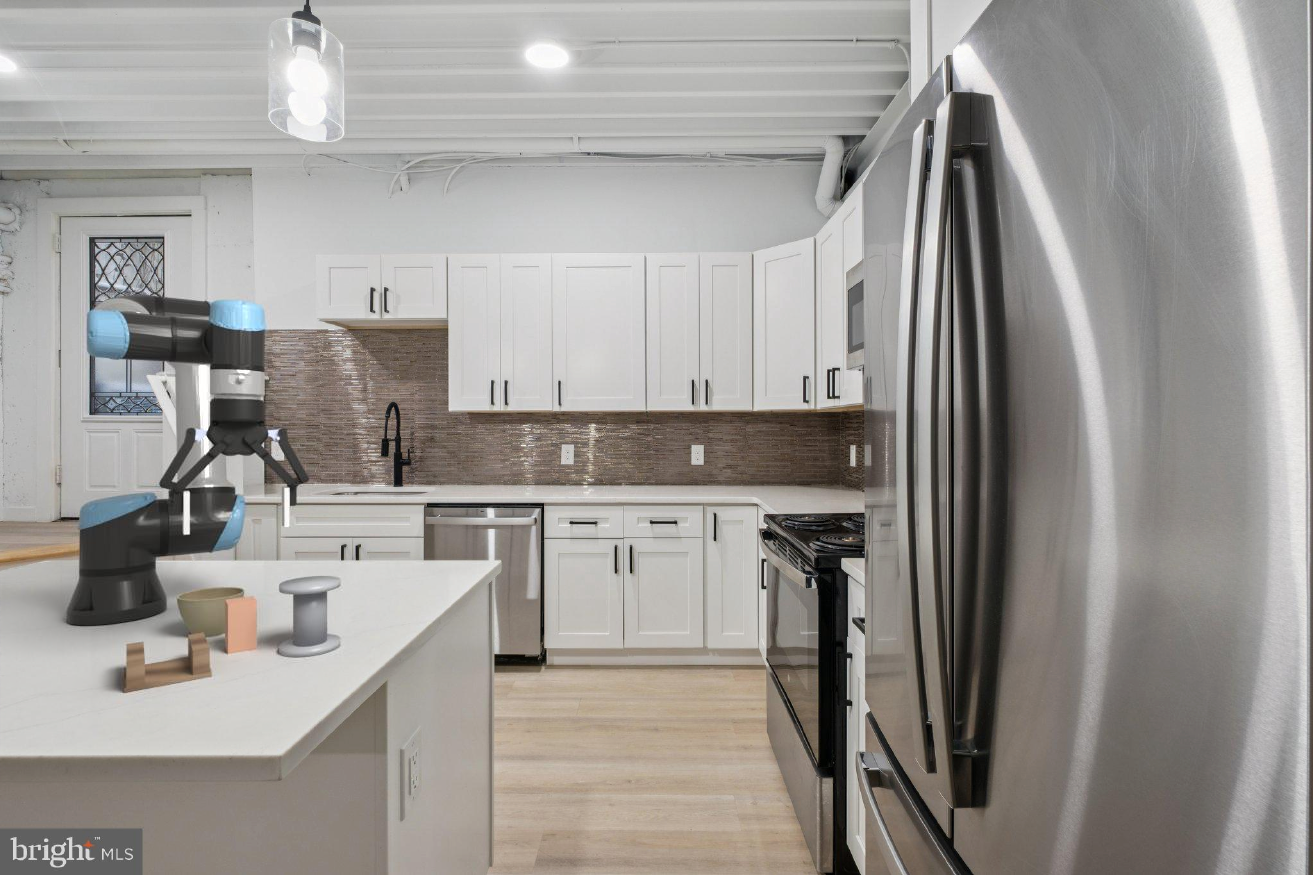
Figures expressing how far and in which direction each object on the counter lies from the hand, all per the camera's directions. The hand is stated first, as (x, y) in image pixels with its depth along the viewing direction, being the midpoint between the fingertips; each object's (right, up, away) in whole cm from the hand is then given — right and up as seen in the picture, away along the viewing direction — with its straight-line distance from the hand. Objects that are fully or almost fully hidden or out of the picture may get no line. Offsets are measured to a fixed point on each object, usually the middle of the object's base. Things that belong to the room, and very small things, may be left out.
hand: (237, 529), depth 106 cm
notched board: (-5, -20, -9) cm, 22 cm away
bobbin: (+10, -20, +3) cm, 23 cm away
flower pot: (-12, -20, +11) cm, 26 cm away
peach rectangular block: (-1, -20, +3) cm, 20 cm away
